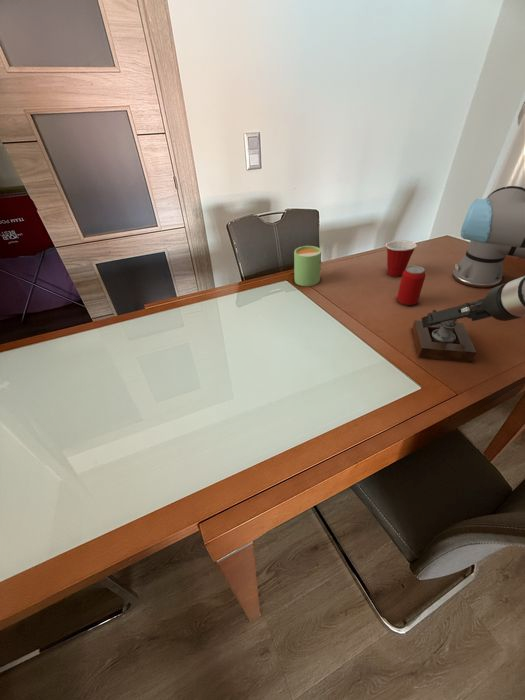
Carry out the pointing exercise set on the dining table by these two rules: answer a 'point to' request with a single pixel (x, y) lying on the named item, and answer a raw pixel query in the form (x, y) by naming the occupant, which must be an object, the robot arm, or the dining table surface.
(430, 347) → the socket base
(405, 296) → the beverage can
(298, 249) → the mug
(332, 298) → the dining table surface
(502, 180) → the robot arm
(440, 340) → the grey tall piece
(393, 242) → the plastic cup
